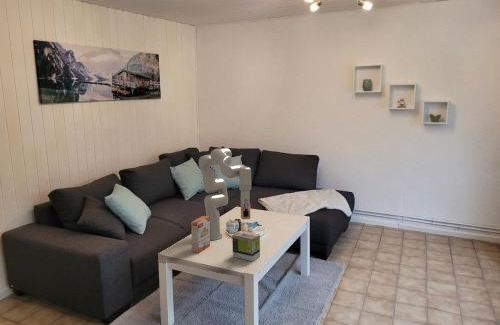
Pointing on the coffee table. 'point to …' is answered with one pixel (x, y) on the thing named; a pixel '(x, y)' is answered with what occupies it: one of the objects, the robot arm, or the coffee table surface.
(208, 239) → the cracker box
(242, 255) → the tea box
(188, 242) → the coffee table surface
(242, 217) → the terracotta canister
